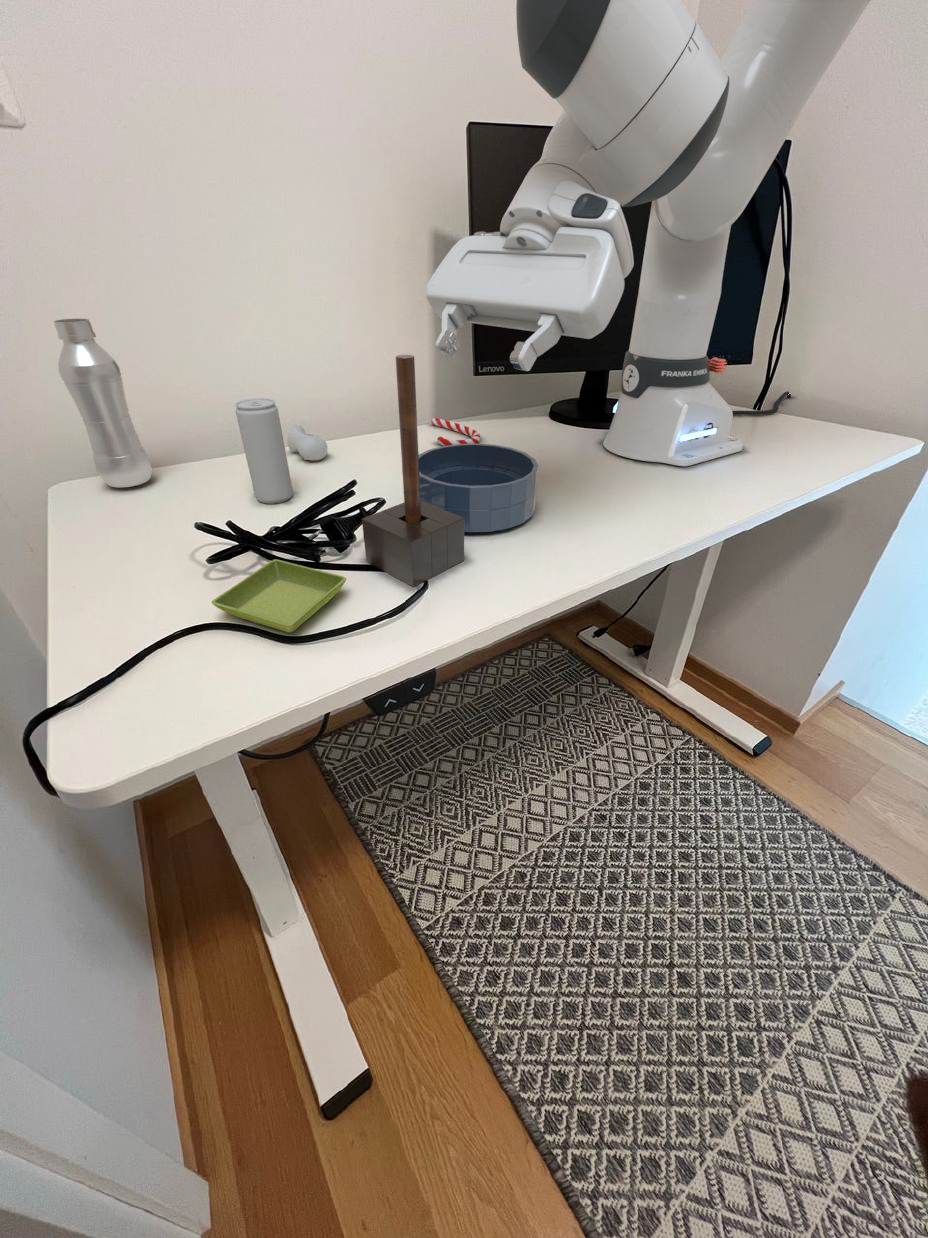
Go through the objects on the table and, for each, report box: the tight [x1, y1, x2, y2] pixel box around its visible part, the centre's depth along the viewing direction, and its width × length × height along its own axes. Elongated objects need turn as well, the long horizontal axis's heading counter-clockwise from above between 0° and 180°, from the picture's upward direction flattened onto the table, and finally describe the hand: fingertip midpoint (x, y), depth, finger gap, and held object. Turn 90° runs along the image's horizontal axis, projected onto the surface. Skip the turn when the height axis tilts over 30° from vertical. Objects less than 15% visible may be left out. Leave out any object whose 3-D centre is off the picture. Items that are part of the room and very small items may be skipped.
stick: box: [395, 354, 421, 525], centre depth 52 cm, size 2×2×20 cm
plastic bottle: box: [53, 318, 153, 488], centre depth 69 cm, size 6×7×20 cm
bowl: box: [418, 443, 540, 533], centre depth 67 cm, size 15×15×6 cm
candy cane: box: [431, 417, 481, 447], centre depth 94 cm, size 8×1×15 cm
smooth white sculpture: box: [286, 424, 329, 461], centre depth 84 cm, size 4×8×5 cm
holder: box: [361, 500, 465, 588], centre depth 56 cm, size 7×7×5 cm
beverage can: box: [234, 397, 294, 505], centre depth 68 cm, size 5×5×12 cm
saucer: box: [211, 558, 347, 634], centre depth 50 cm, size 9×9×2 cm
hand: (478, 358), depth 52 cm, fingers open, 8 cm apart
